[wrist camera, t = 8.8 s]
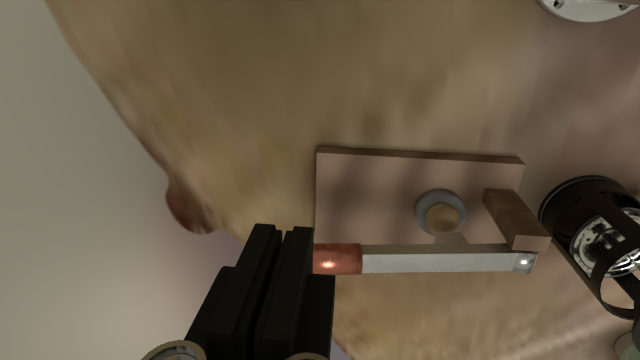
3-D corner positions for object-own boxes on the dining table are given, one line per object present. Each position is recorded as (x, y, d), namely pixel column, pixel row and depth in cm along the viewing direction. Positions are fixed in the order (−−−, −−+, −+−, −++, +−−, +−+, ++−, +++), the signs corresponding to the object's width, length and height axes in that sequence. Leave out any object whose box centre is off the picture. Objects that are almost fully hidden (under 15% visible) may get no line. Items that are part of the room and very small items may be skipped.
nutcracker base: (518, 157, 41) (568, 207, 31) (493, 247, 46) (529, 314, 36) (318, 146, 43) (305, 190, 33) (316, 234, 48) (305, 295, 38)
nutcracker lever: (521, 227, 37) (546, 253, 33) (514, 251, 38) (537, 278, 34) (294, 229, 35) (293, 256, 32) (294, 253, 37) (293, 282, 33)
